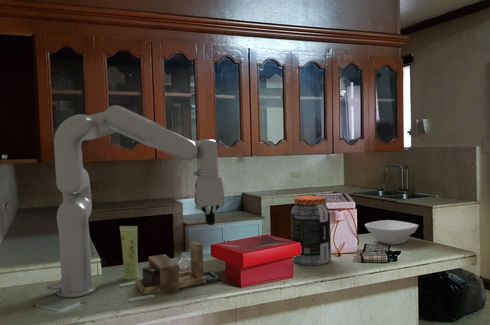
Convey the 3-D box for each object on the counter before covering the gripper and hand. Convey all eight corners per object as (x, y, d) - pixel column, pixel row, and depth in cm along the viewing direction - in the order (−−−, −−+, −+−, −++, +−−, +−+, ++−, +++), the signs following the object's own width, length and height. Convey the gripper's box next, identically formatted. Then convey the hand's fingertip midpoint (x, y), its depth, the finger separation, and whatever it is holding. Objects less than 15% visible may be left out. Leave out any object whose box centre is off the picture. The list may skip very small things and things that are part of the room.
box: (156, 284, 150) (156, 263, 149) (168, 287, 146) (167, 266, 145) (142, 289, 145) (141, 267, 145) (153, 292, 141) (153, 270, 141)
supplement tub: (339, 263, 168) (337, 198, 167) (304, 268, 163) (302, 201, 161) (318, 253, 183) (316, 194, 182) (285, 258, 177) (283, 196, 176)
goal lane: (129, 302, 133) (129, 300, 133) (119, 286, 148) (119, 284, 148) (154, 297, 136) (154, 295, 136) (142, 282, 152) (142, 280, 152)
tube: (123, 281, 154) (121, 227, 153) (121, 277, 158) (119, 225, 157) (139, 278, 156) (137, 226, 155) (137, 275, 161) (134, 223, 160)
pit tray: (206, 283, 149) (206, 279, 149) (197, 276, 157) (197, 273, 157) (219, 280, 151) (219, 277, 151) (210, 274, 159) (210, 270, 159)
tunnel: (161, 295, 138) (160, 268, 138) (149, 281, 153) (148, 256, 152) (179, 292, 141) (178, 265, 140) (165, 278, 155) (164, 254, 155)
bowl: (359, 242, 202) (358, 224, 202) (387, 235, 213) (387, 219, 213) (395, 250, 185) (395, 231, 184) (424, 243, 196) (424, 224, 196)
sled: (142, 294, 138) (141, 254, 137) (135, 284, 148) (134, 247, 147) (206, 282, 148) (205, 245, 147) (195, 274, 158) (194, 239, 157)
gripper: (191, 176, 146) (194, 228, 147) (231, 172, 153) (233, 223, 154) (184, 174, 153) (187, 225, 154) (222, 171, 159) (225, 220, 160)
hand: (210, 224), depth 154 cm, fingers closed
